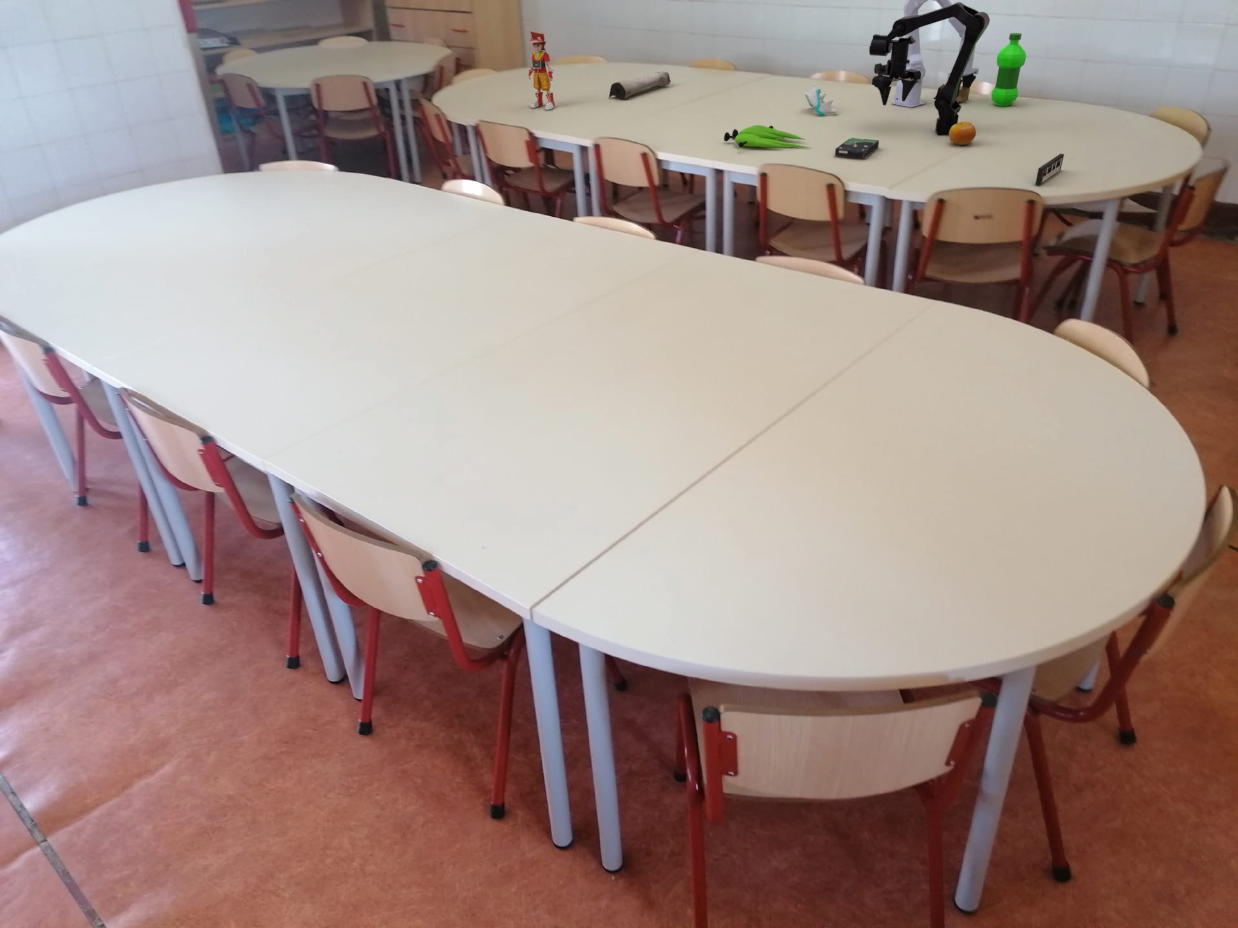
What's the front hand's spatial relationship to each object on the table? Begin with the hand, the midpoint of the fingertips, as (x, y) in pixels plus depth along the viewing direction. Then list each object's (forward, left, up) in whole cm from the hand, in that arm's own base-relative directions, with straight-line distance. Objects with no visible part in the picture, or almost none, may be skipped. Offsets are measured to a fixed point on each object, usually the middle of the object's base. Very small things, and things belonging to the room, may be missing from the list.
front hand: (893, 103), depth 325 cm
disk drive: (+14, +32, -8) cm, 36 cm away
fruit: (-21, +22, -8) cm, 32 cm away
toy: (+141, -37, -8) cm, 146 cm away
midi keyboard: (-42, +60, -8) cm, 74 cm away
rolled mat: (+102, -63, -8) cm, 120 cm away
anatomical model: (+26, -24, -8) cm, 36 cm away
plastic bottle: (-44, -31, -8) cm, 55 cm away
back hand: (-29, -37, -6) cm, 47 cm away
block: (-29, -37, -8) cm, 47 cm away
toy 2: (+44, +21, -8) cm, 49 cm away
